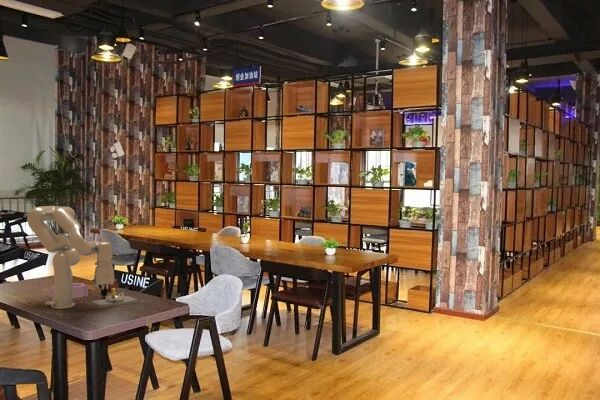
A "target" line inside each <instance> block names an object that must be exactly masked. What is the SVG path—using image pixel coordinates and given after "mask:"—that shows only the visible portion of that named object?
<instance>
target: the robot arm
mask: <svg viewBox="0 0 600 400" xmlns="http://www.w3.org/2000/svg"><path fill="white" fill-rule="evenodd" d="M75 217H76V212H75V210H74V209H73V208H72V207H70V206H58V205H57V206H56V205H43V206H36V207H33V208H32V209H31V210H30V211H29V212H28V213H27V217H26V218H27V225H28V227H29V228H30V230H31V231H32V232H33V233H34V235H35V236H36V238H37V239H38V240H39V242H40V243H41V244H42V247H44V249H45V250H46V251H47V252H48V253H55V255H54V256H53V257H52V267H53V273H54V274H53V275H54V277H53V279H54V282H53V283H54V284H53V286H54V299H53V298H52V299H51V300H49V301H45V302H44V305H45V306H47V305H48V306H51V309H55V310H58V309H59V310H63V309H70V308H73V307H76V303H75V302H74V301H73V299H74V298H73V280H74V279H73V271H72V268H71V267H73V266H75V265H77V264H78V263H79V262H80V260H81V256H80V255H82V256H85V257H86V256H87V257H88V256H91V255H95V254H96V262H94V265H95V269H94V276H93V277H94V278H93V282H94V285H93V286H94V287H96V288H99V289H100V295H101V296H102V297H105V296H107V289H108V287H109V286H110V285H113V284H114V279H115V271H114V266H113V265H112V243H111V242H110V241H99V240H89V241H87V240H85V238H84V237H83V236H82V235H81V233H80V230H81V227H82V225H81V224H80V222H78V221H77V220H76V218H75ZM47 221H55V222H56V224H57V225H59V227H60V228H61V229H62V230H63V231H64V232H65V233H66V235H68V237H67V236H66V235H64V234H56V233H55V232H54V231H53V229H52V228H51V227H50V226H49V224H47V223H45V222H47ZM103 284H104V285H103Z"/></svg>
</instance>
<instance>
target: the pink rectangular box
mask: <svg viewBox="0 0 600 400" xmlns="http://www.w3.org/2000/svg"><path fill="white" fill-rule="evenodd" d="M88 289H89V285H88V284H85V282H82V283H81V282H80V283H79V282H77V283H76V282H75V283H73V299H80V298H84V297H88V296H89V292H88V291H89V290H88ZM50 294H51V295H50V298H51V299H52V300H53V299H54V285H53V286H50Z"/></svg>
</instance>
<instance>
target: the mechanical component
mask: <svg viewBox="0 0 600 400" xmlns="http://www.w3.org/2000/svg"><path fill="white" fill-rule="evenodd" d="M103 285H104V284H103ZM119 285H120V284H118V279H117V278H114V284H113V285H110V286H109V287H108V289H107V293H109V292H110V293H111V288H115V292H117V288H119ZM104 297H105V298H106V296H104Z"/></svg>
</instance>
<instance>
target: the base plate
mask: <svg viewBox="0 0 600 400" xmlns="http://www.w3.org/2000/svg"><path fill="white" fill-rule="evenodd" d="M133 303H134V304H135V303H138V299H137V298H134V297H131V296H129V295H126V296H125V295H124V300H123V301H120V302H107V301H106V298H104V299H98V300H92V301H91V304H92V305H94V306H97V307H99V309H100V308H101V309H102V308H110V307H117V306H124V305H129V304H133Z"/></svg>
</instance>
